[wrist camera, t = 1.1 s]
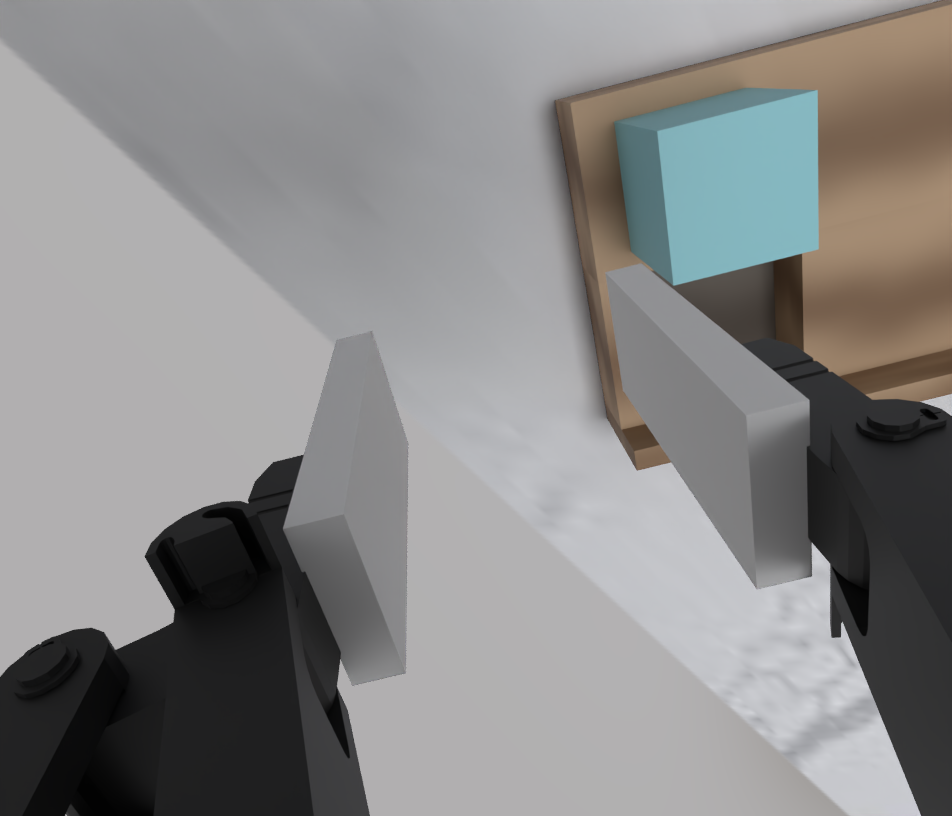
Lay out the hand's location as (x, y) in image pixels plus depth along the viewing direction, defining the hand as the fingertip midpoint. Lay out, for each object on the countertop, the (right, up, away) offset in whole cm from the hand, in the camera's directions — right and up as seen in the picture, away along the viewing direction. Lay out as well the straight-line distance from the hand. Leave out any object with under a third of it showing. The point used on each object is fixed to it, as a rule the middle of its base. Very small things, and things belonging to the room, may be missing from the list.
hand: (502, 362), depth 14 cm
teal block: (+8, +8, +12) cm, 16 cm away
